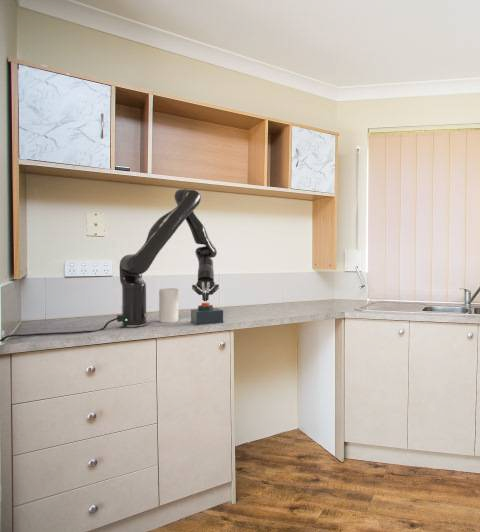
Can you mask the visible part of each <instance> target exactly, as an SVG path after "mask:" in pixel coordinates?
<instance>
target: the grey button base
mask: <svg viewBox="0 0 480 532" xmlns="http://www.w3.org/2000/svg"><path fill="white" fill-rule="evenodd" d="M190 323H192V324H194V325H196V326H203V325H214V324H224V309H221V308H218V307H214V305H213V304H210V306H201V304H200V305H198V306H197V308H194V309H190Z"/></svg>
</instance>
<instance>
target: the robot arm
mask: <svg viewBox="0 0 480 532" xmlns="http://www.w3.org/2000/svg"><path fill="white" fill-rule="evenodd" d="M201 200H202V195H201V193H200V192H199V191H198V190H196V189H192V188H191V189H189V188H179V189H177V190H176V191H175V192H174V201H175V203H176V204H177V206H175V208H173V209H172V210H170V211H168V212H167V213H165V214H163V215H161V216H160V217H159V218H158V219H157V220H156V221H155V222H154V223H153V225H152V226H151V228H150V229H149V231H148V232H147V237H146V239H145V242H144V243H143V245H142V246H141V247H140V249H139V250H138V251H137V252H135V253H134V254H130V253H129V254H126V255H124V256H122V258H121V259H120V260H119V282H120V285H121V314H116V318H113V319H110V320H108V321H107V322H106V323H105V324H104V326H103V327H102V328H99V329H95V330H80V331H79V330H78V331H61V332H60V331H59V332H38V333H27V334H8V335H6V336H4V337H2V338H1V339H0V342H3V341H4V340H6V339H8V338H12V337H31V336H32V337H34V336H47V335H48V336H51V335H53V336H54V335H70V334H72V335H73V334H84V333H85V334H86V333H95V332H99V331H103V330H105V329H106V328H107V326H108V325H109V324H110V323H112V322H114V321H116V322H117V323H121V327H122V329H125V328H127V329H128V328H140V327H146V326H147V317H148V313H147V282H145V281H144V279H143V274H144V273H146V272H147V271H148V270H149V269H150V267H151V266H152V264H153V262H154V260H155V259H156V257H157V256H158V254H159V253H160V252H161V250H162V249H163V248H164V247H165V246H166V244H167V243H168V242H169V240H170V239H171V238H172V237H173V236H174V234H175V233H176V232H177V230H178V229H179V228H180V226H182V224H183V223H184V222H186V223H187V224H188V227H189V230H190V232H191V235H192V238H193V240H194V243H195V244H196V245H203V246H198V247H197V248H195V251H194V253H195V256H196V258H197V261H198V270H197V282H196V284H192V285H191V290H192V291H194V292H195V293H196V294H197V295H199V296H201V298H202V299H201V300H202V301H203V302H208V301H209V298H210V295H211V296H212V295H214V294H215V293H216V292H217V291H218V290H219V289H220V284H219V283H217V284H216V282H215V271H214V260H213V258H215V257H216V256H217V255H218V252H217V251H218V250H217V248H216V247H215V246H214V244H213V243H212V241H211V239H210V238H209V236H208V232H207V230H206V227H205V225H204V223H203V222H202V221H201V220H200V218H199V217H198V216H197V215H196V213H195V209H197V207H198V206H199V205H200V204H201Z"/></svg>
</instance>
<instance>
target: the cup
mask: <svg viewBox="0 0 480 532" xmlns="http://www.w3.org/2000/svg"><path fill="white" fill-rule="evenodd" d="M178 321H179V288H159V289H158V322H159V323H175V322H178Z"/></svg>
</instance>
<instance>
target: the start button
mask: <svg viewBox="0 0 480 532" xmlns="http://www.w3.org/2000/svg"><path fill="white" fill-rule="evenodd" d="M200 305H201V306H210V305H211V304H210V302H201V304H200Z"/></svg>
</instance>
